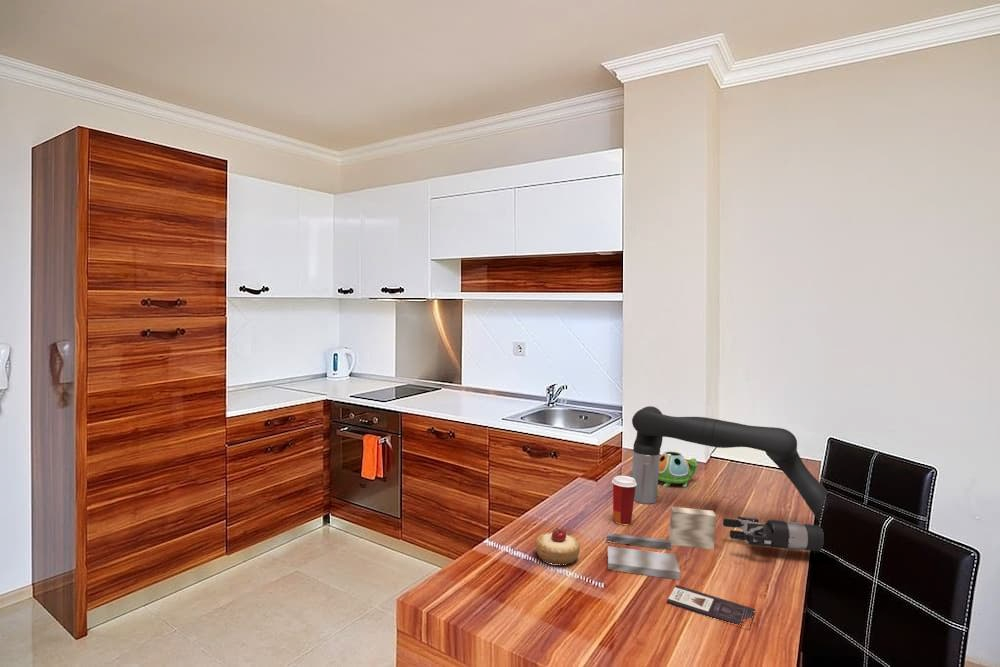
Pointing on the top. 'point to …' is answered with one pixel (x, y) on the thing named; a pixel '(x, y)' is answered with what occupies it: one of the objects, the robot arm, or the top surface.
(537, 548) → the pastry
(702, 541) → the beige rectangular block
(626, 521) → the paper cup
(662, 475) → the turtle holder
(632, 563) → the mating board
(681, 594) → the chocolate bar
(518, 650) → the top surface
